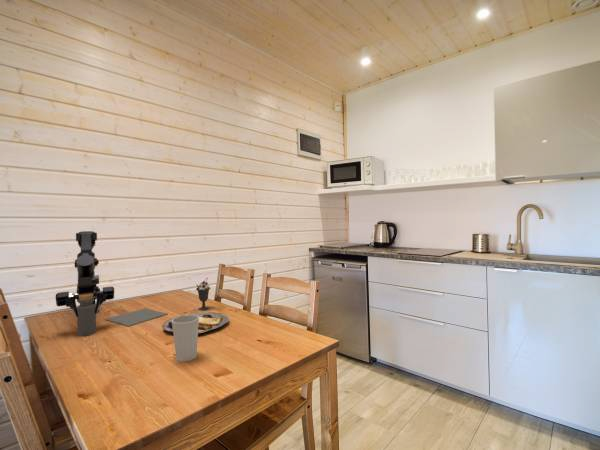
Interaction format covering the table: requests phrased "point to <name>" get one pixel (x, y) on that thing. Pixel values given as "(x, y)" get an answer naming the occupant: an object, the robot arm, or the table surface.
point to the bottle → (86, 315)
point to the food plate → (202, 321)
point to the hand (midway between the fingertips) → (86, 314)
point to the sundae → (203, 293)
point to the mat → (136, 317)
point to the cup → (185, 337)
